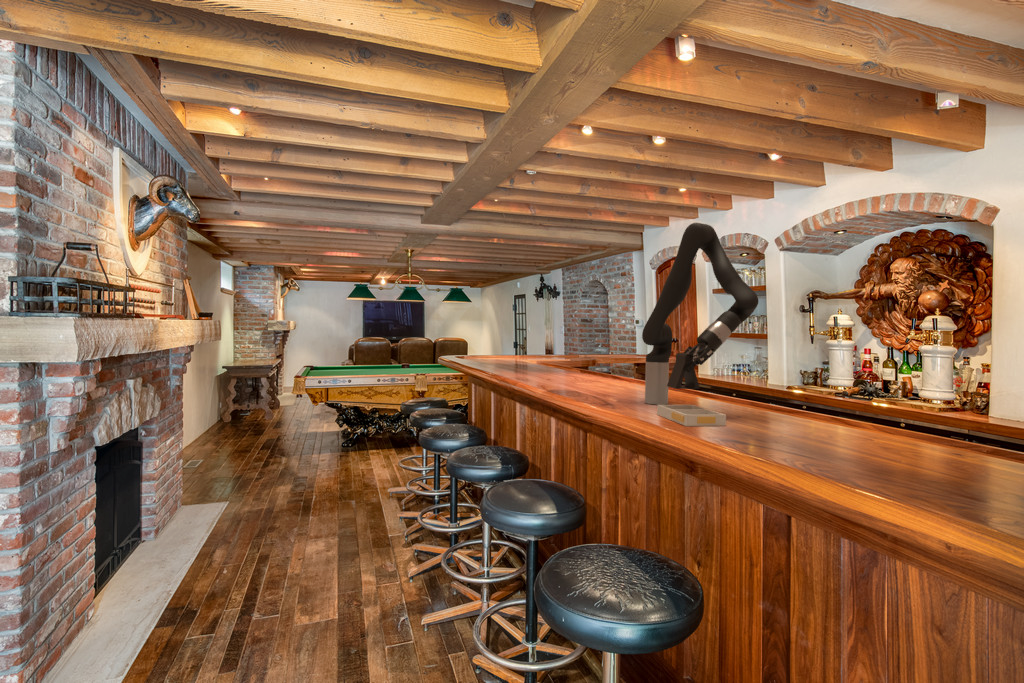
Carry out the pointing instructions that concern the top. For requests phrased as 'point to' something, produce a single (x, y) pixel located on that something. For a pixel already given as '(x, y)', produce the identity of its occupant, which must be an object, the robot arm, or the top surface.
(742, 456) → the top surface
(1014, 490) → the top surface
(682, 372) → the door stopper
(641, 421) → the top surface
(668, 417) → the tray
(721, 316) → the robot arm
